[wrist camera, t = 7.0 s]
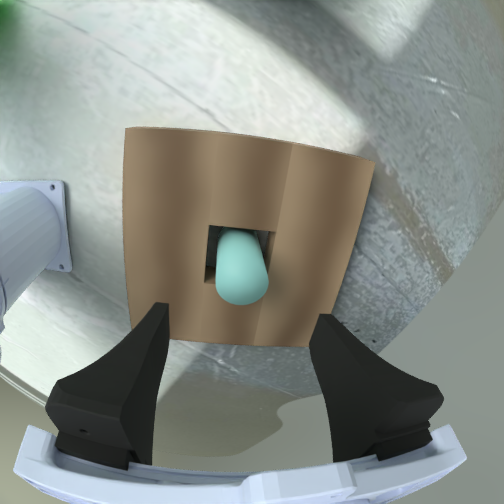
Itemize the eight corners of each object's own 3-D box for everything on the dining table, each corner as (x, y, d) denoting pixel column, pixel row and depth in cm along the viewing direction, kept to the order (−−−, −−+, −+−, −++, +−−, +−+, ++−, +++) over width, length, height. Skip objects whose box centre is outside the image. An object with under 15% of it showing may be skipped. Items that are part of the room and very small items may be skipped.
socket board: (139, 315, 24) (132, 333, 22) (137, 126, 17) (125, 128, 15) (311, 328, 26) (318, 346, 24) (359, 156, 19) (375, 162, 17)
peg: (217, 258, 22) (215, 305, 17) (217, 221, 21) (215, 260, 15) (256, 258, 22) (266, 304, 17) (258, 221, 21) (270, 260, 16)
